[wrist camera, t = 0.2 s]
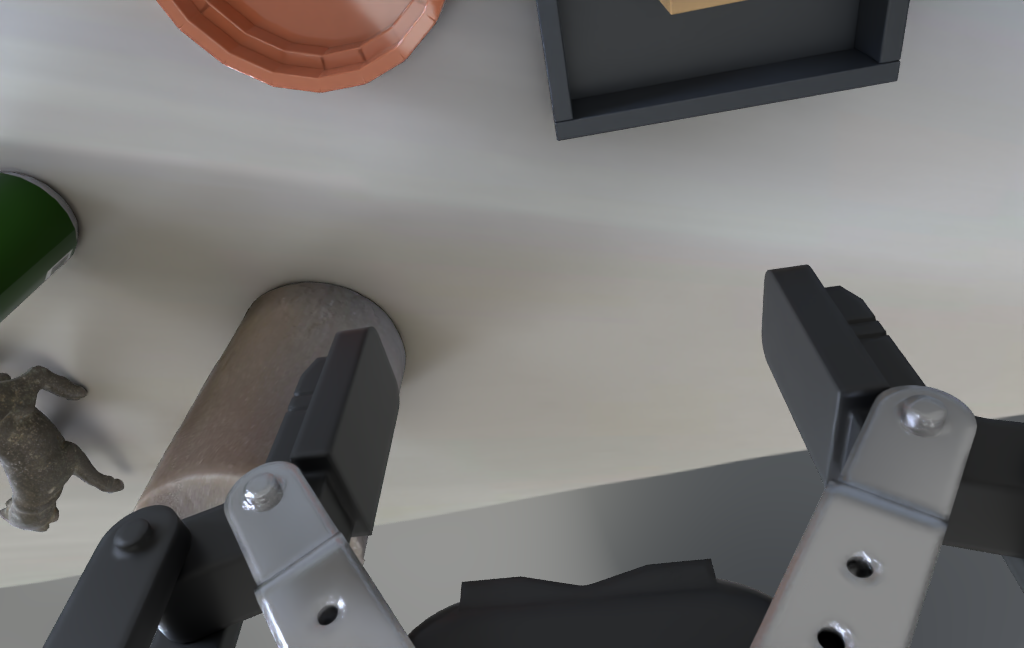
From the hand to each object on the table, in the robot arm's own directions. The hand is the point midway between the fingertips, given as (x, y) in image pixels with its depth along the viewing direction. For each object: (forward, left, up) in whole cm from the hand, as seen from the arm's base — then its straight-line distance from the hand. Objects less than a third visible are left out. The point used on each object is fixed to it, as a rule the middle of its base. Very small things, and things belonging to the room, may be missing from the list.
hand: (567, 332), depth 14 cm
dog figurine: (+15, -34, -19) cm, 42 cm away
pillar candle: (+13, -15, -19) cm, 28 cm away
